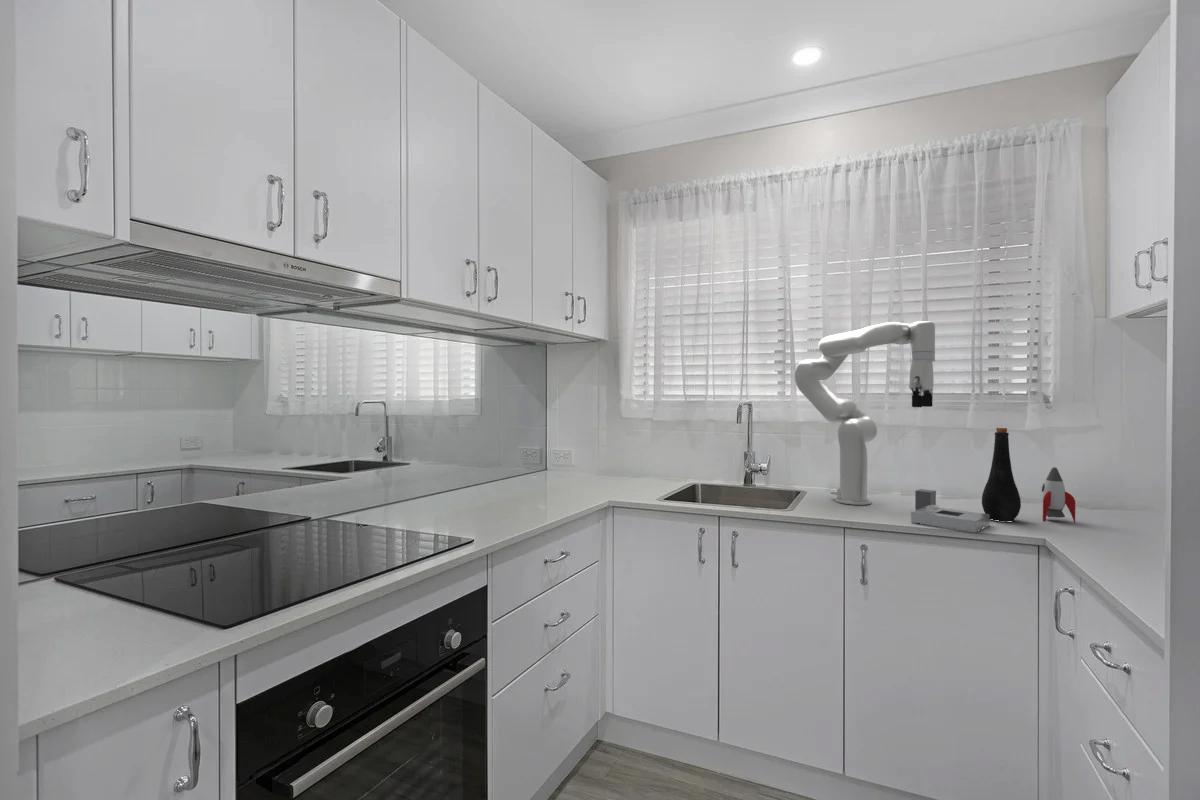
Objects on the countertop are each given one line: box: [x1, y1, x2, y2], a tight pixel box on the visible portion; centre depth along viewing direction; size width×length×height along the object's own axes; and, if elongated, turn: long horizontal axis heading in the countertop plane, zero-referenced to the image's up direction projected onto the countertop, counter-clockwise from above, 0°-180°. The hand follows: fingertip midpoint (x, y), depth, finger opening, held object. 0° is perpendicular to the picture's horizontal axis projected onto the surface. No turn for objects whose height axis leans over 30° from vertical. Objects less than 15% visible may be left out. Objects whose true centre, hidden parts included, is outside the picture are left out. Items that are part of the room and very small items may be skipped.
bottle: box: [981, 427, 1022, 522], centre depth 192 cm, size 11×11×30 cm
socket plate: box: [910, 504, 991, 534], centre depth 186 cm, size 18×14×4 cm
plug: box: [914, 488, 937, 511], centre depth 202 cm, size 5×7×8 cm, turn 132°
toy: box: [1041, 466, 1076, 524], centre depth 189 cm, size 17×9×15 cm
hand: (922, 406), depth 204 cm, fingers open, 9 cm apart
